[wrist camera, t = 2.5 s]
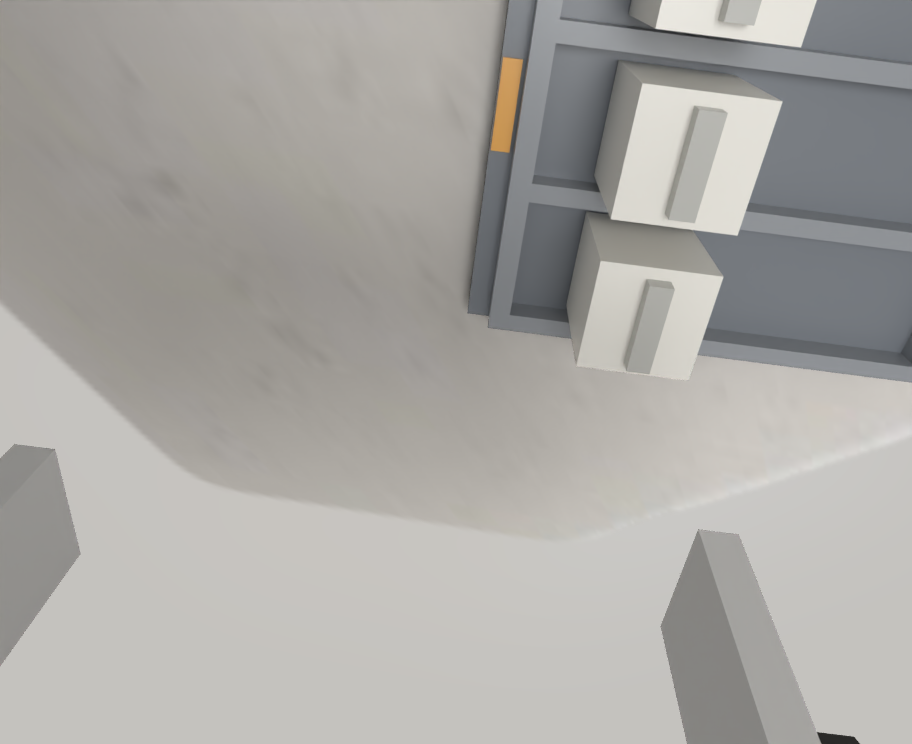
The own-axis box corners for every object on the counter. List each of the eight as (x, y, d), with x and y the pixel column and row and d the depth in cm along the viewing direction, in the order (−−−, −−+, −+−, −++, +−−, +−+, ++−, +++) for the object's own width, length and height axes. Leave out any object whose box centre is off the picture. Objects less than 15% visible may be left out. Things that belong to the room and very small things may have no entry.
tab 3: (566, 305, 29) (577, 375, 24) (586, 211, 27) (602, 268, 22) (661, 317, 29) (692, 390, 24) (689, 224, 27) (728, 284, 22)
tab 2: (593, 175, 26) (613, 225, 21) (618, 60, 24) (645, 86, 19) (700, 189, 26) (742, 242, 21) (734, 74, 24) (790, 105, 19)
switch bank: (469, 298, 31) (466, 326, 29) (533, -186, 22) (536, -201, 20) (915, 355, 31) (947, 388, 29) (1157, -104, 22) (1232, -111, 20)
